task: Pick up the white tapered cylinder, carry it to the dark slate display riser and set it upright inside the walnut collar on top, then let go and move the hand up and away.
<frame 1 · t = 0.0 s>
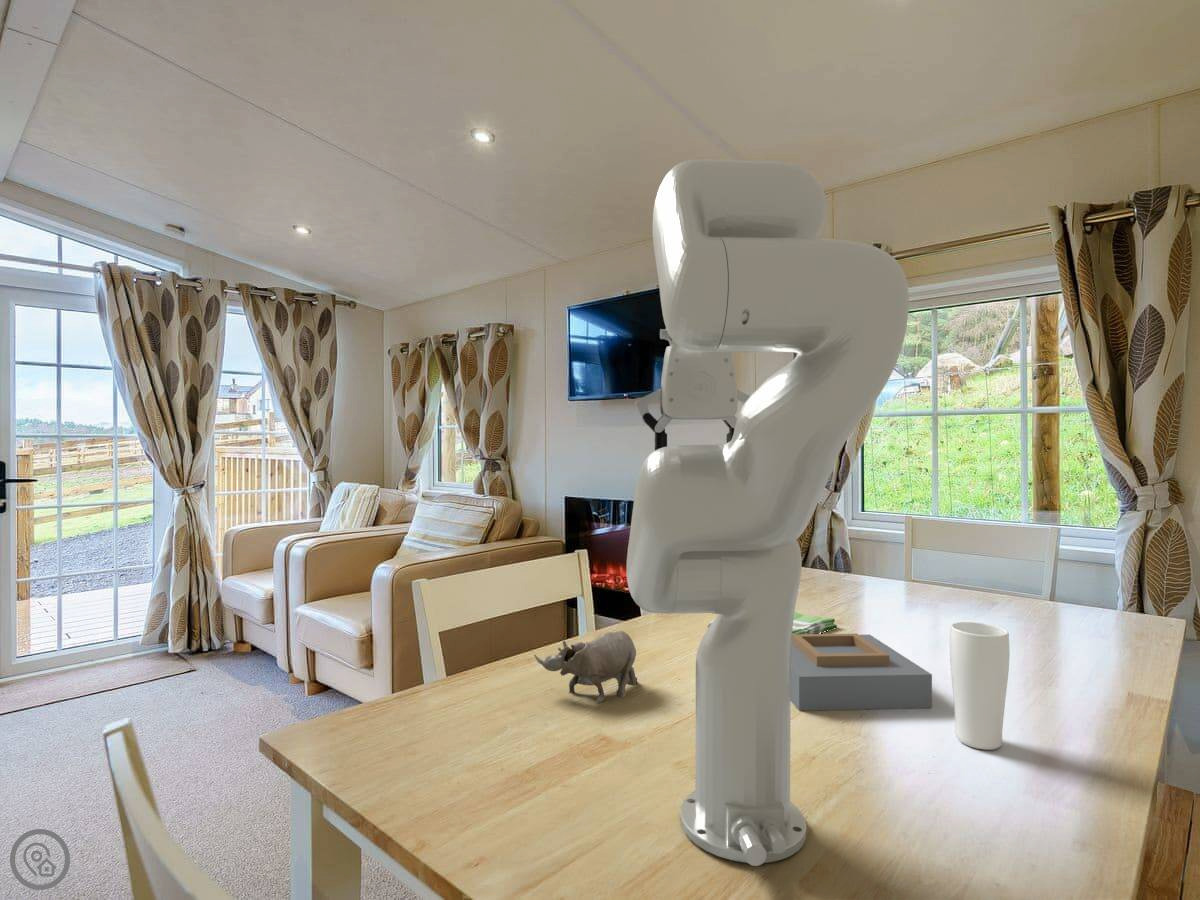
hand: (697, 461, 90), 37 cm above the table, tool pointing down, fingers open, 9 cm apart
display riser: (837, 684, 106), on the table
white tapered cylinder: (978, 743, 86), on the table
rhinoceros figurine: (593, 694, 102), on the table
dish towel: (772, 632, 137), on the table
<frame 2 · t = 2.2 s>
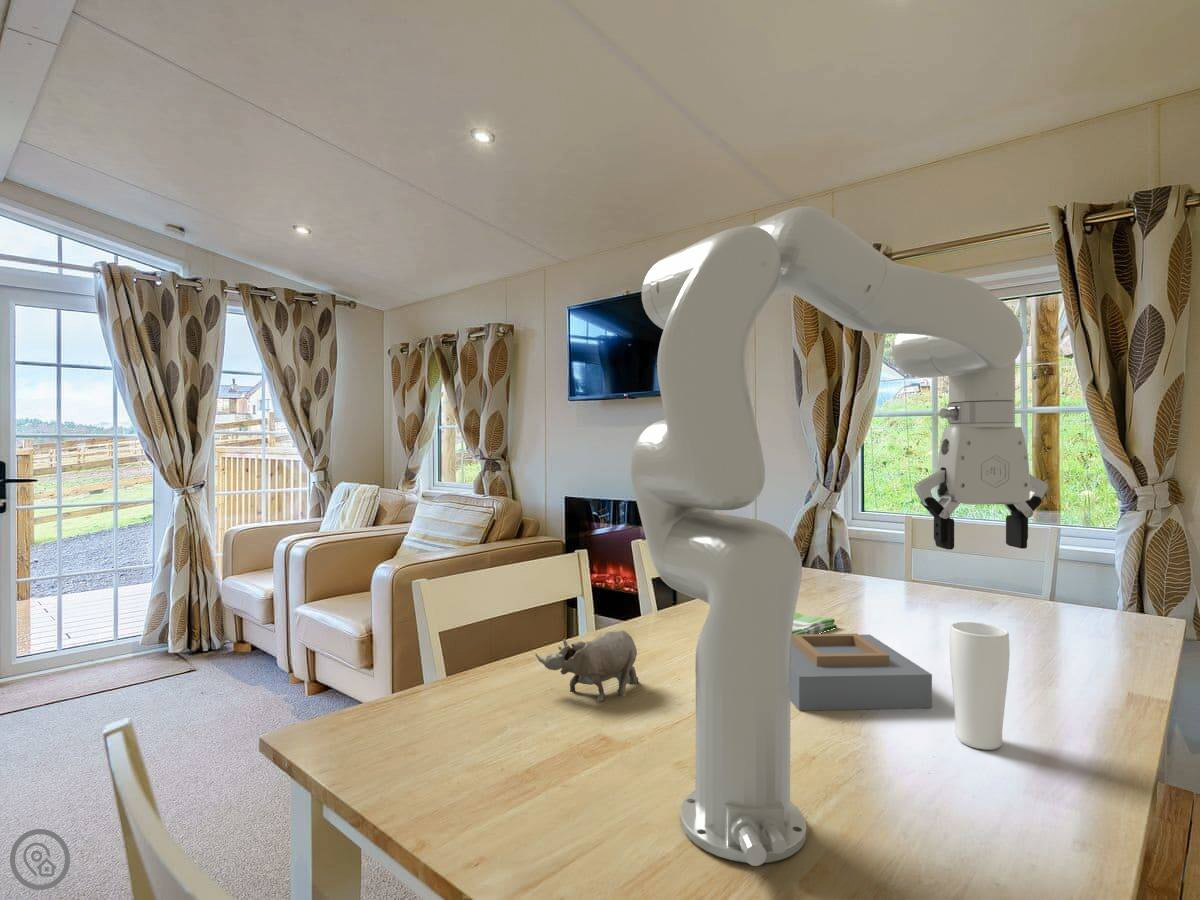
hand: (980, 547, 85), 26 cm above the table, tool pointing down, fingers open, 9 cm apart
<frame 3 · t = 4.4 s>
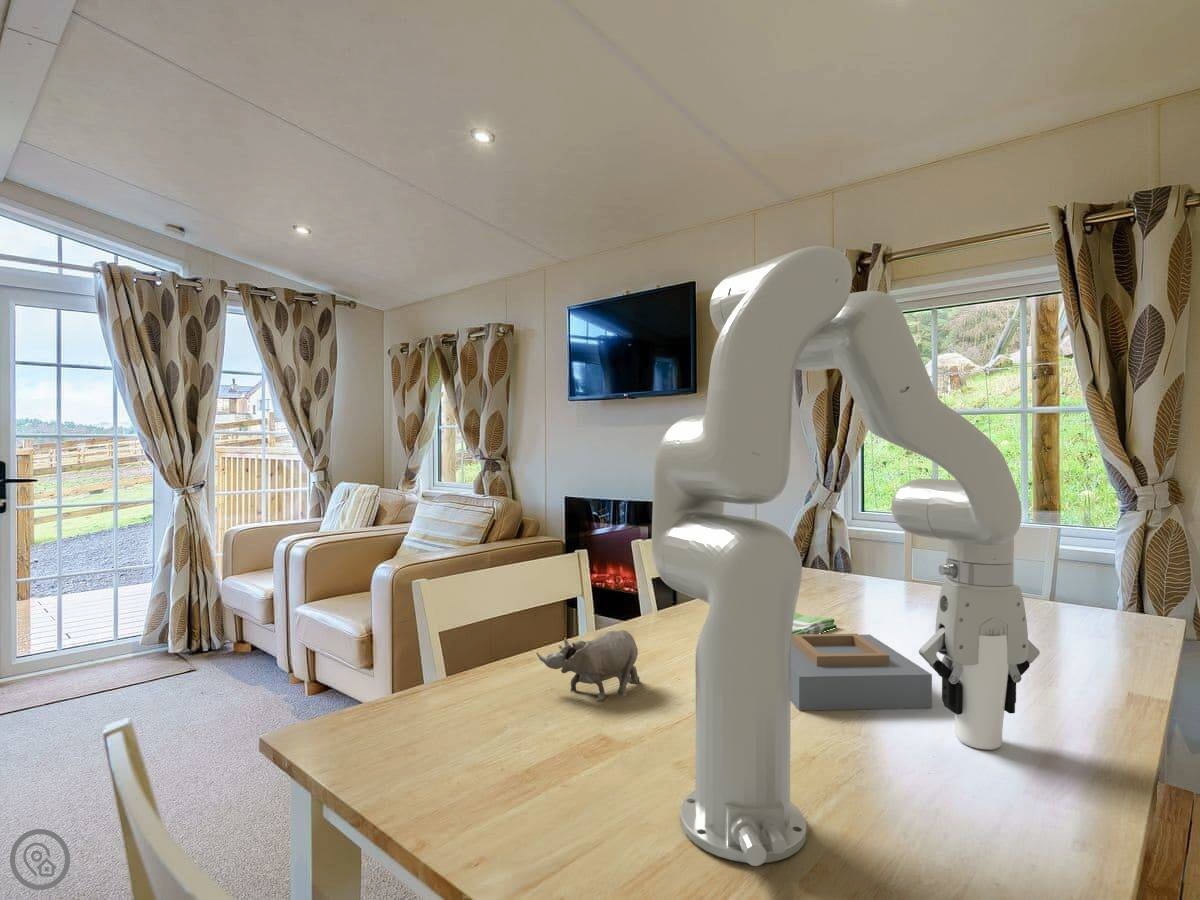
hand: (978, 708, 85), 4 cm above the table, tool pointing down, fingers closed on white tapered cylinder, 6 cm apart
white tapered cylinder: (978, 743, 86), on the table, touching gripper
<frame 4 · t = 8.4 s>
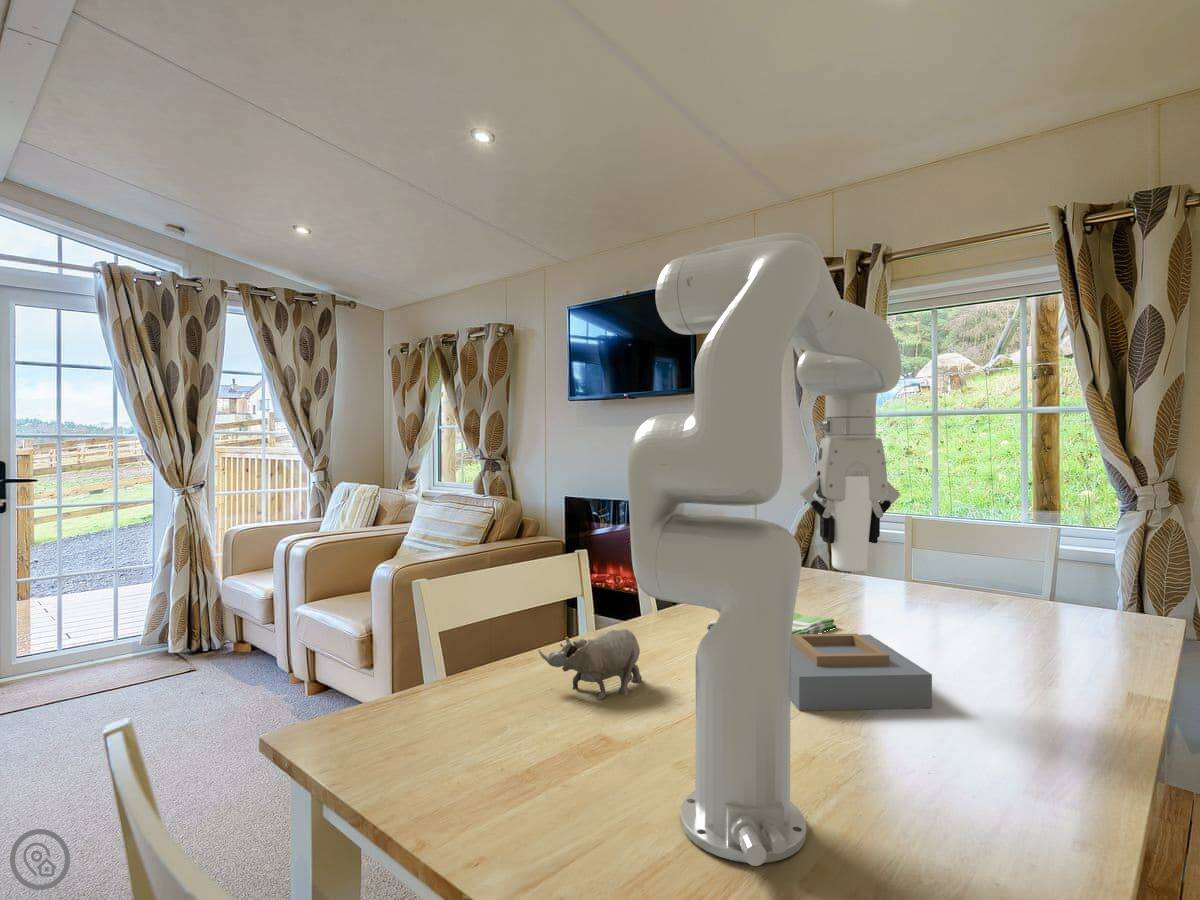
hand: (849, 541, 104), 24 cm above the table, tool pointing down, fingers closed on white tapered cylinder, 6 cm apart
white tapered cylinder: (849, 570, 104), point 19 cm above the table, touching gripper
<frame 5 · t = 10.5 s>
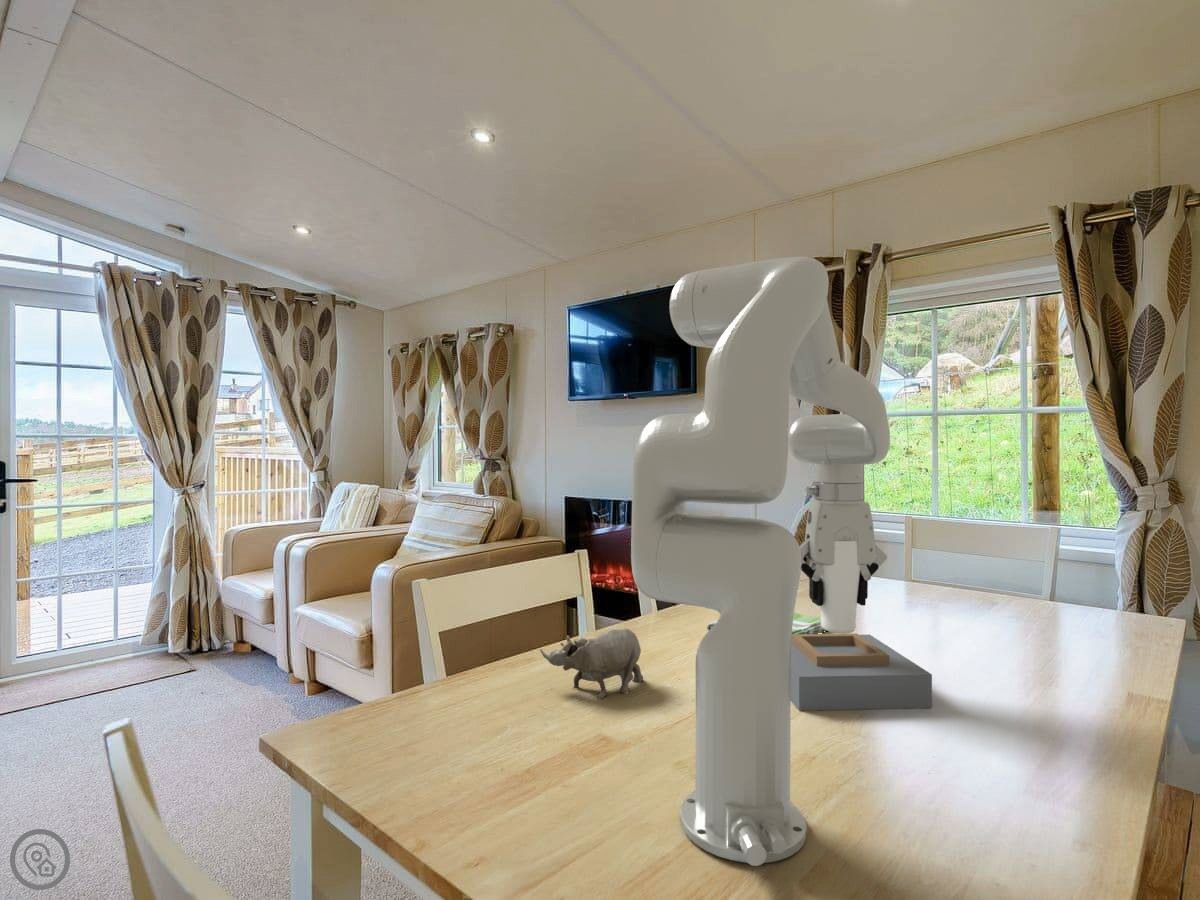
hand: (838, 602, 106), 13 cm above the table, tool pointing down, fingers closed on white tapered cylinder, 6 cm apart
white tapered cylinder: (837, 631, 106), point 9 cm above the table, touching gripper
when the fingers open (11 cm above the table, at t = 12.3 s): white tapered cylinder drops 1 cm, resting on display riser.
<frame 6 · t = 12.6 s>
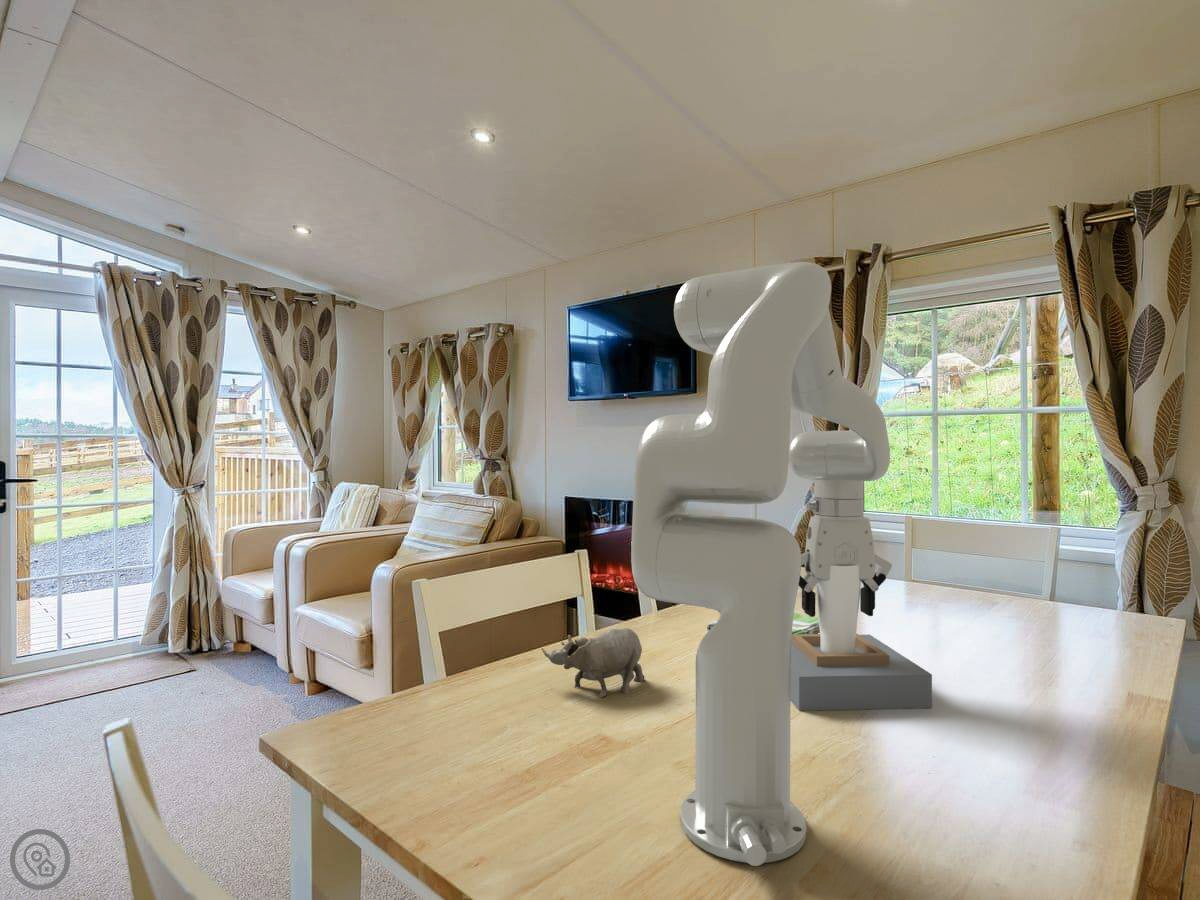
hand: (838, 614, 106), 11 cm above the table, tool pointing down, fingers open, 9 cm apart
white tapered cylinder: (837, 654, 106), point 5 cm above the table, touching display riser
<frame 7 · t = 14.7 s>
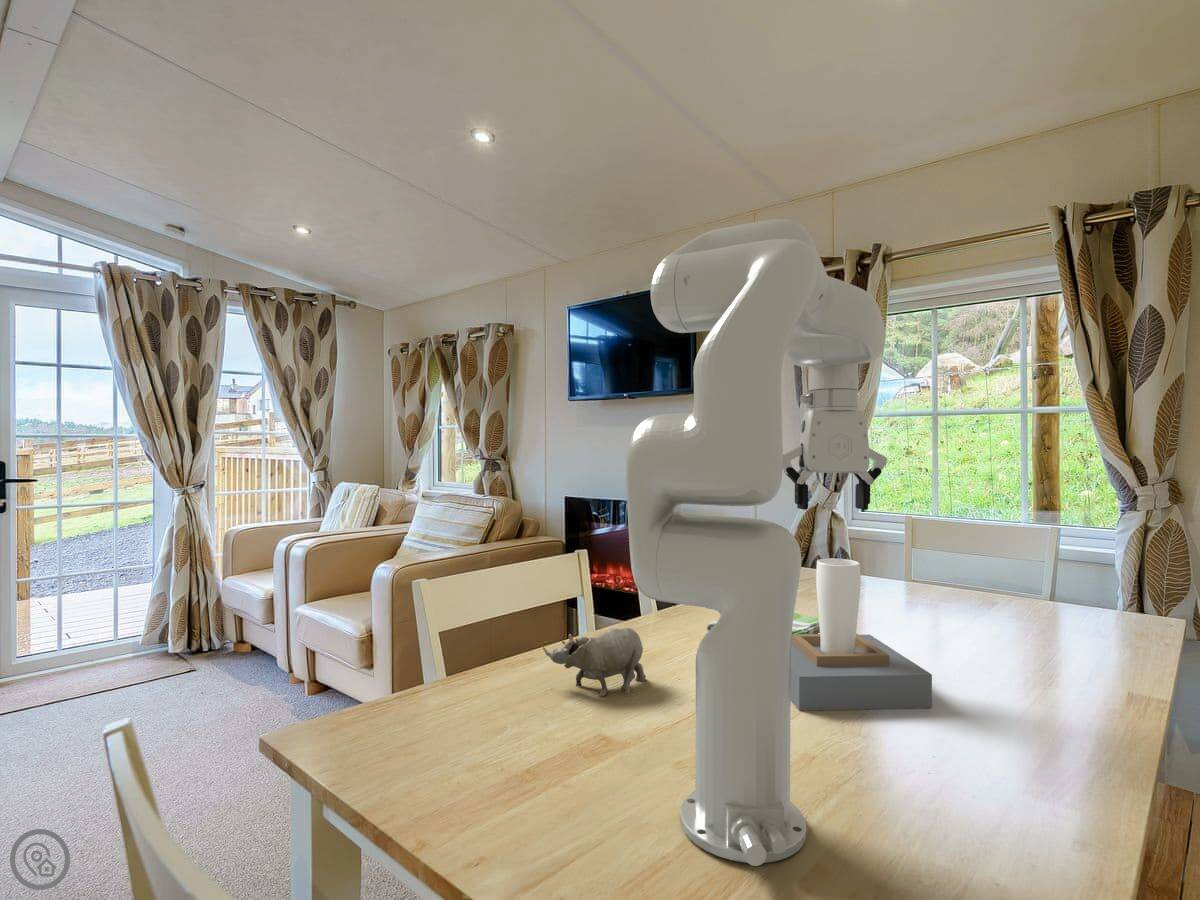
hand: (832, 508, 105), 29 cm above the table, tool pointing down, fingers open, 9 cm apart
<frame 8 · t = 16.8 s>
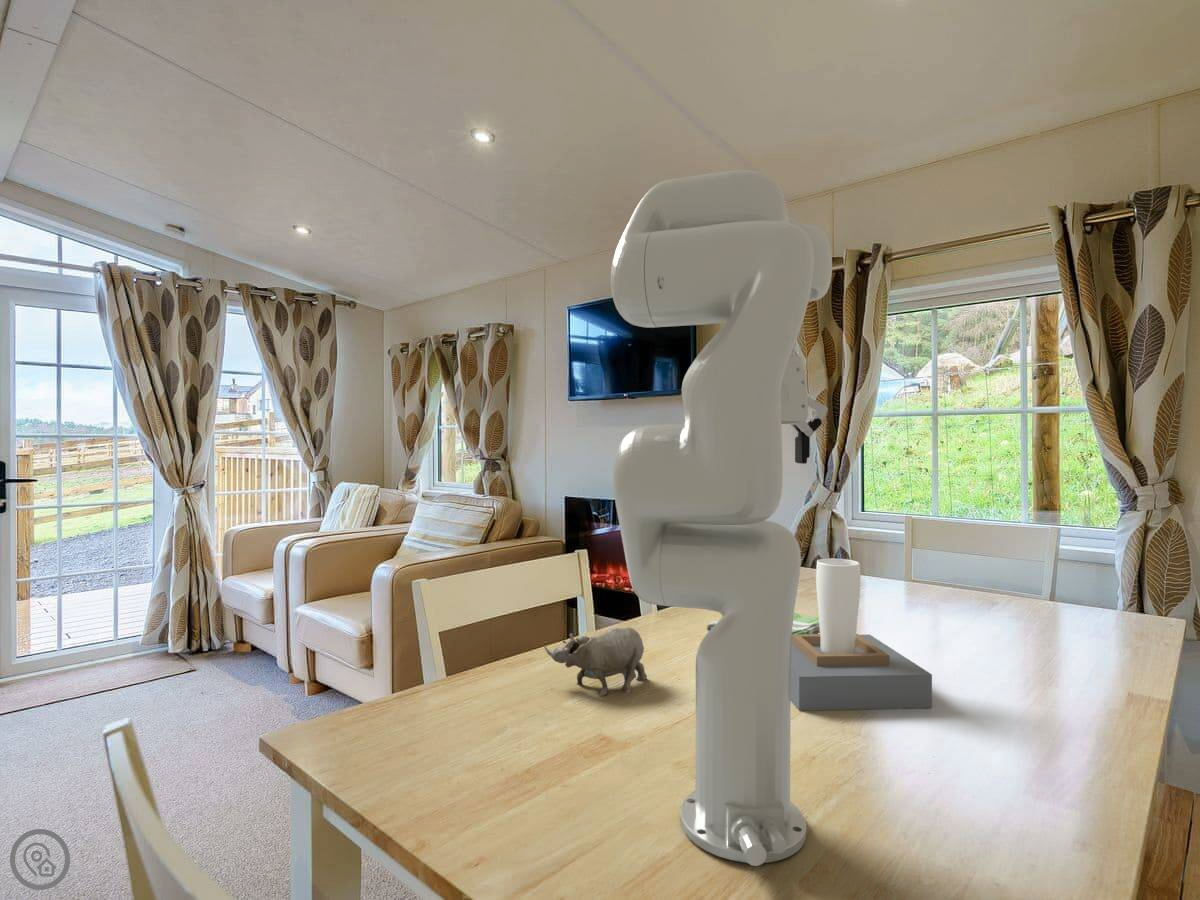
hand: (769, 463, 97), 36 cm above the table, tool pointing down, fingers open, 9 cm apart
at the end: white tapered cylinder 0.2 cm off-centre on the display riser, point 4.8 cm above the display riser's base; white tapered cylinder tilted 0°; the gripper is holding nothing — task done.
